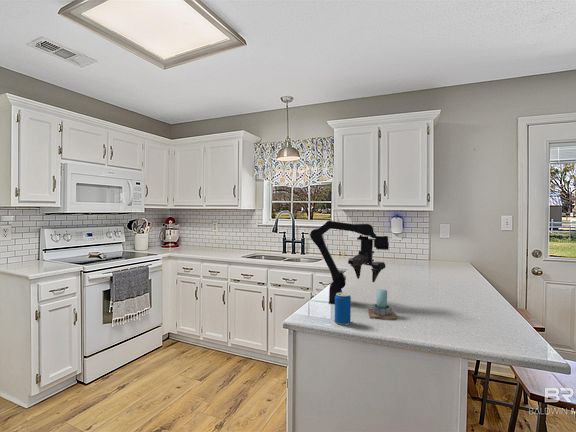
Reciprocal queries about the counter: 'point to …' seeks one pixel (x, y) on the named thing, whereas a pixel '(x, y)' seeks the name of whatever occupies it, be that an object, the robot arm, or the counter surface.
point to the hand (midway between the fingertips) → (365, 280)
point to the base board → (371, 315)
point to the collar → (382, 310)
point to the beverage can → (342, 308)
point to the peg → (381, 298)
